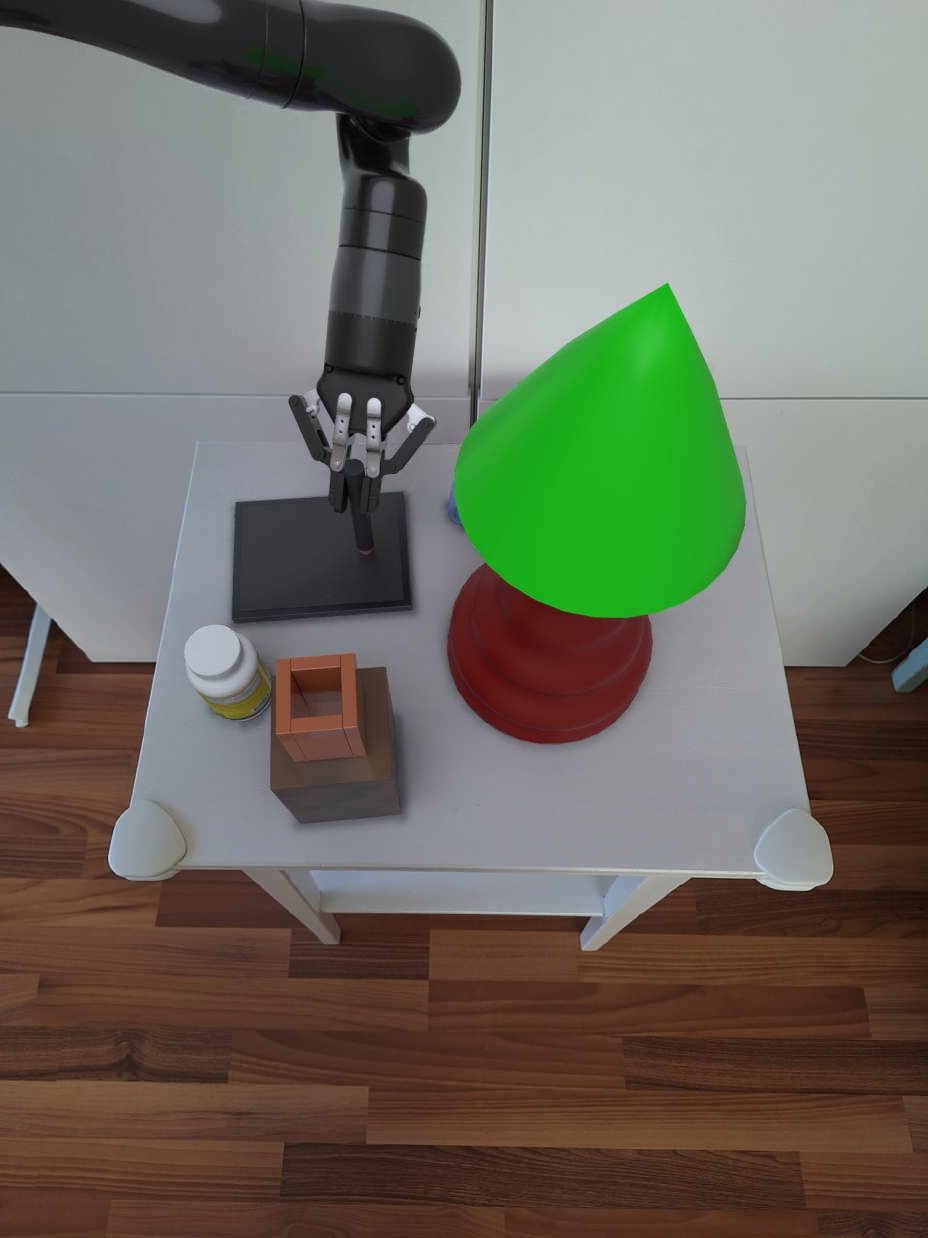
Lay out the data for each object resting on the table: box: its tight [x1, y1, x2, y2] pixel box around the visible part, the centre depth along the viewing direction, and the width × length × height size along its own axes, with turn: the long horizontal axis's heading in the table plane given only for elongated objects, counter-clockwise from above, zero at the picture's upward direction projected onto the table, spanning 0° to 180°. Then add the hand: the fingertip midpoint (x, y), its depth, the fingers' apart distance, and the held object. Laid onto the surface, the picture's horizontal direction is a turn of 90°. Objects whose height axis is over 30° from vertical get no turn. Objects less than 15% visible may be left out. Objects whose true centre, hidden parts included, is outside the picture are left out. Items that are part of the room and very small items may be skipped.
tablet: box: [231, 491, 413, 624], centre depth 80 cm, size 18×14×1 cm
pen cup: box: [275, 652, 367, 763], centre depth 55 cm, size 5×5×8 cm
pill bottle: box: [183, 624, 272, 723], centre depth 69 cm, size 6×6×11 cm
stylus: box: [344, 458, 374, 555], centre depth 74 cm, size 2×2×14 cm
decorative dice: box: [447, 481, 463, 526], centre depth 82 cm, size 4×4×4 cm
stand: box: [269, 666, 401, 825], centre depth 65 cm, size 9×9×14 cm
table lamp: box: [446, 282, 747, 745], centre depth 57 cm, size 20×20×45 cm
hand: (352, 512), depth 70 cm, fingers closed on stylus, 2 cm apart
